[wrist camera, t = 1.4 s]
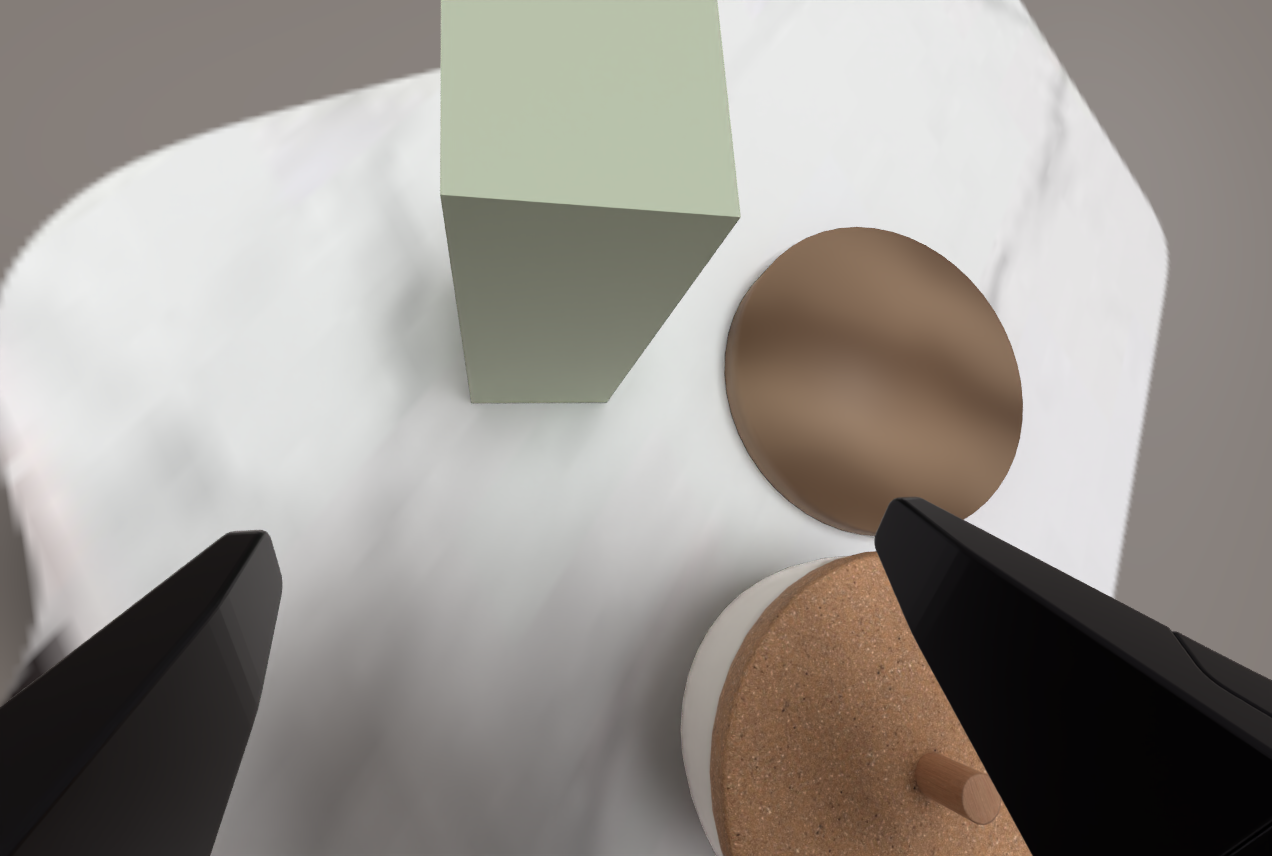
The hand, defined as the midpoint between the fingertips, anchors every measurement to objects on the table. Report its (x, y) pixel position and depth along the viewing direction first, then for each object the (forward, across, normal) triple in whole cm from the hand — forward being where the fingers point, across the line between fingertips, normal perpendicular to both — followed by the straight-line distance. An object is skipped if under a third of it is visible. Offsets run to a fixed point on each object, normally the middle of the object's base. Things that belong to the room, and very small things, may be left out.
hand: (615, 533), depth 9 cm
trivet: (+14, -14, +5) cm, 20 cm away
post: (+15, 0, +4) cm, 15 cm away
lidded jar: (+5, -9, +14) cm, 17 cm away
